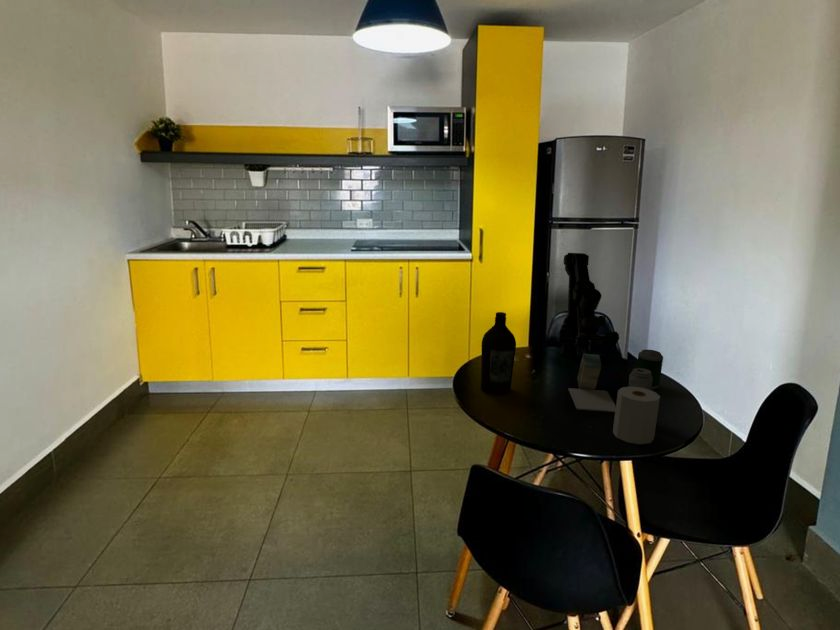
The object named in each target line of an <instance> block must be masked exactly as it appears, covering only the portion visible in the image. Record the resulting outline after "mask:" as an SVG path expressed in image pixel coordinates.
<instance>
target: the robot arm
mask: <svg viewBox="0 0 840 630" xmlns="http://www.w3.org/2000/svg"><path fill="white" fill-rule="evenodd" d="M589 259H590V255H588V254H586V253H583V252H582V253H581V252H567V254H564V256H563V265H564V271H565V272H566V274H567V276H568V295H567V314H566V316H565V318H564V319H563V321H562V324H561V326H560V329H559V331H558V334H557V343H558V344H559V345H560V344H561V345H562V348H561V351H560V352H559V353H558V356H562V357H564V358H565V357H566V358H570V359H577V357H579V356H580V355H581V352H582V355H583V354H594V351H595V348H596V349H597V348H599V346H600V344H601V342H602V345H603V346H604V347H610V348H611V347H616V345H617V343H618V342H619V340H620V334H619V333H618V332H617V331H611V330H609V331H608V330H605V333H604V334H597V333H599V329H600V327H605V326H606V323H607V321H606V320H607V319H606V318H607V317H606V316H605V315H598V317H596V310H597V309H598V306H599V305H600V301H601V299H602V293H601V292H600V290H598V289H596V285H595V283H594V282H592V281H591V280H590V274H589V273H590V272H589V262H590V261H589ZM588 341H589V343H588ZM579 350H580V351H581V352H578V351H579Z"/></svg>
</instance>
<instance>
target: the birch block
mask: <svg viewBox="0 0 840 630" xmlns="http://www.w3.org/2000/svg"><path fill="white" fill-rule="evenodd" d="M581 357H582V358H581V360H580V365H579V369H578V373H577V378H576V379H577V386H578V389H589V390H596V389H597V388H596V387H597V384H598V380H599V377H600V373H601V368H602V362H601V357H600V354H594V353H593V354H583V353H582V356H581Z"/></svg>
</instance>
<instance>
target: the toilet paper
mask: <svg viewBox="0 0 840 630" xmlns="http://www.w3.org/2000/svg"><path fill="white" fill-rule="evenodd" d="M660 400H661V396H660V395H659V394H658V393H657V392H656V391H655V390H648V389H645V388H640V387H632V386H631V387H628V386H624V387H621V388H619V389H618V390H617V395H616V402H615V403H616V404H615V405H616V410H615V412H614V419H613V428H612V433H613V435H614V437H616V439H619V440H622V441H623V442H626V443H629V444H635V445H647V444H651V443H652V442H653V441H654V439H655V435H656V434H655V433H656V428H657V427H656V426H657V420H658V415H659V414H658V413H659V408H660V407H659V406H660V402H661V401H660Z"/></svg>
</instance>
